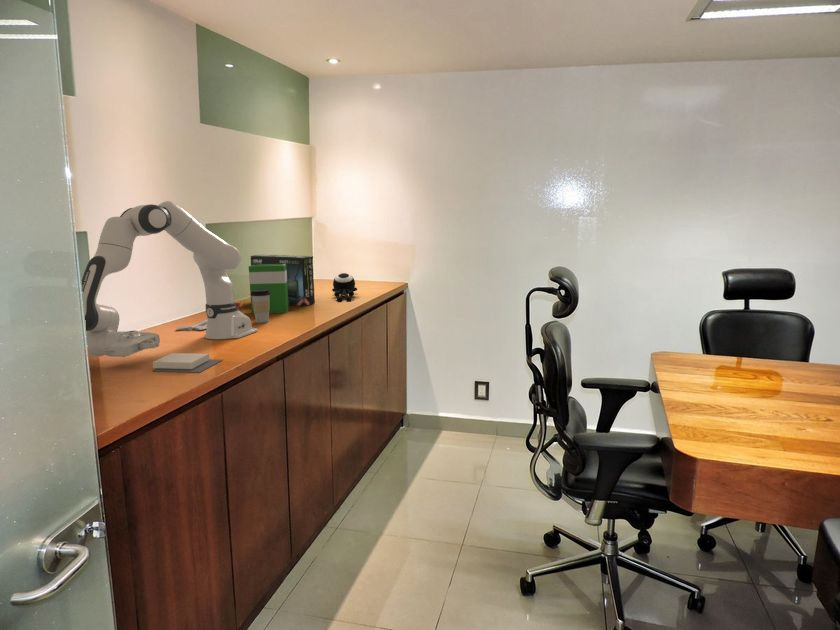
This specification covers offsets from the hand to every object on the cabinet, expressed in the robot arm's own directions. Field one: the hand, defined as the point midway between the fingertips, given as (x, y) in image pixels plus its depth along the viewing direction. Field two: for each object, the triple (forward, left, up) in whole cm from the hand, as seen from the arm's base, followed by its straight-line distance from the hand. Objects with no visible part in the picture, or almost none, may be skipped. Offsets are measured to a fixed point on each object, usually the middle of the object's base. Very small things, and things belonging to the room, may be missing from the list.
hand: (156, 344), depth 209 cm
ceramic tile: (-1, +2, -6) cm, 6 cm away
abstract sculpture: (-152, -30, -8) cm, 155 cm away
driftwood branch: (-58, -43, -8) cm, 73 cm away
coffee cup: (-74, -22, -7) cm, 78 cm away
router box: (-120, -49, -7) cm, 130 cm away
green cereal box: (-97, -38, -7) cm, 105 cm away
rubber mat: (-4, +10, -7) cm, 13 cm away
